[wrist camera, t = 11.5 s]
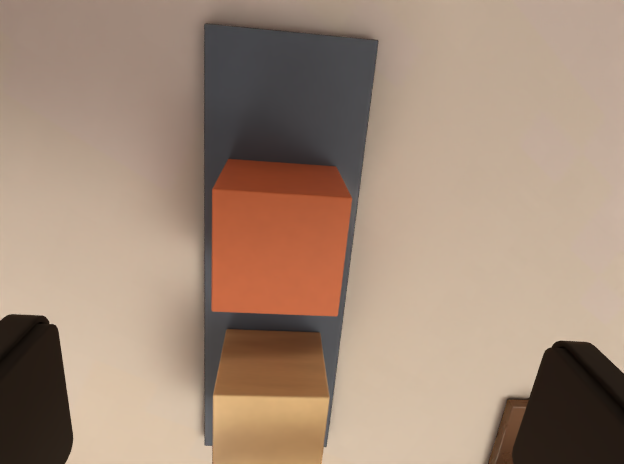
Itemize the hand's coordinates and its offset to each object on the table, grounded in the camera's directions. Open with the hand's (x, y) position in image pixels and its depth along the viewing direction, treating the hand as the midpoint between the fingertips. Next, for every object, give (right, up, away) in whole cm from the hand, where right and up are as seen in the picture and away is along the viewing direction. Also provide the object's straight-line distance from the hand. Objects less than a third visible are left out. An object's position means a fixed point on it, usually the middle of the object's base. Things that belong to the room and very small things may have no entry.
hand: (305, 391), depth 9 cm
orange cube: (-1, +4, +10) cm, 11 cm away
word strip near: (-1, +1, +12) cm, 12 cm away
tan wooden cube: (-2, -4, +13) cm, 14 cm away
